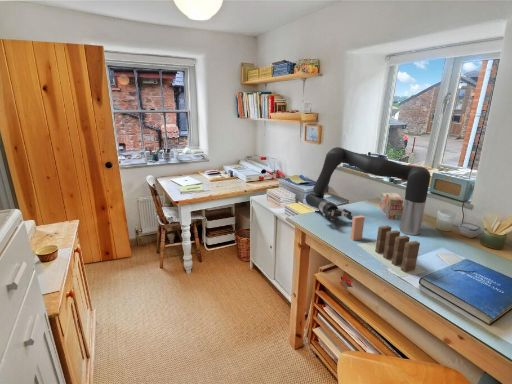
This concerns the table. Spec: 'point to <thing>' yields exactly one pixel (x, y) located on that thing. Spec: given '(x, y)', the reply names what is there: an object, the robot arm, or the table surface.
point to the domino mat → (388, 260)
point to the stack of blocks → (391, 205)
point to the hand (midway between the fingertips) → (344, 219)
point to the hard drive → (449, 258)
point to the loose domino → (357, 227)
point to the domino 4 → (410, 256)
